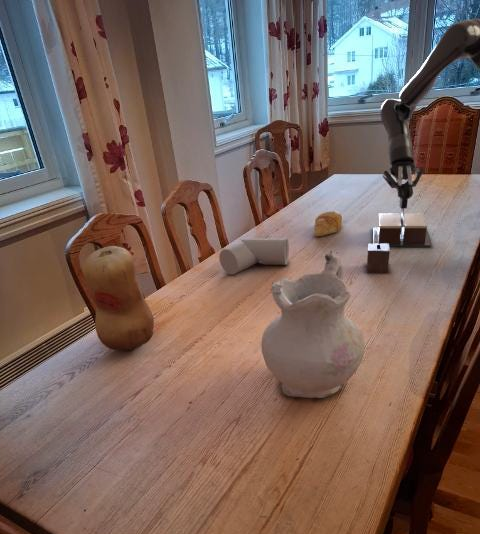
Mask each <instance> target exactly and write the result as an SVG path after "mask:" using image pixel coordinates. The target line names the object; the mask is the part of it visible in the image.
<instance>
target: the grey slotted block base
mask: <svg viewBox="0 0 480 534" xmlns="http://www.w3.org/2000/svg"><path fill="white" fill-rule="evenodd" d="M400 219H401V215H400V213H399V212H394V213H391V212H388V213H386V212H385V213H378V223H377V227H373V228H372V235H373V237H372V238H373V239H372V240H373V241H372V242H373V243H372V244H389V248H428V249H429V248H431V246H432V245H431V241H430V239H429V236H428V233H427V230H428V224H427V221H426V219H425V215H424V213H423V212H404V217H403V226H402V234H400V233H401V222H400Z"/></svg>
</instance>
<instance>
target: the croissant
mask: <svg viewBox="0 0 480 534" xmlns="http://www.w3.org/2000/svg"><path fill="white" fill-rule="evenodd" d="M342 223H343V217H342V215H341V214H339V213H337V212H335V211H325V212H323V213H321V214H319V215H318V216H317V217H316V218H315V220H314V231H313V235H314V236H315V237H323V236H328V235H331V234H335V233H337V232H338V231H339V230H340V229H341V226H342Z"/></svg>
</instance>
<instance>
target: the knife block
mask: <svg viewBox="0 0 480 534" xmlns="http://www.w3.org/2000/svg"><path fill="white" fill-rule="evenodd" d="M390 253H391V250H390V247H389V244H373V243H372V242H371V243H368V244H367V257H366V258H367V259H366V273H370V274H371V273H375V274H377V273H378V274H388V273H389V263H390Z"/></svg>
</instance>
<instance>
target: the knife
mask: <svg viewBox="0 0 480 534" xmlns="http://www.w3.org/2000/svg"><path fill="white" fill-rule="evenodd" d="M402 186H403V193H404V197H403V199H400V198H399V208H400V209H401V211H400V222H401V233H400V234H402V226H403V217H404V213H405V210H406V209H408V202H409V199H408V193H409V183H407V182H405V181H404V182H402Z"/></svg>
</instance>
